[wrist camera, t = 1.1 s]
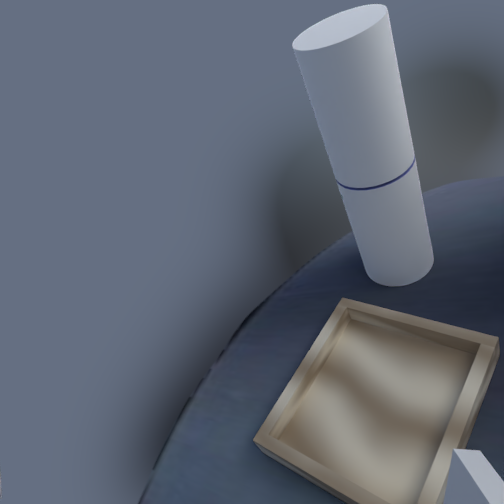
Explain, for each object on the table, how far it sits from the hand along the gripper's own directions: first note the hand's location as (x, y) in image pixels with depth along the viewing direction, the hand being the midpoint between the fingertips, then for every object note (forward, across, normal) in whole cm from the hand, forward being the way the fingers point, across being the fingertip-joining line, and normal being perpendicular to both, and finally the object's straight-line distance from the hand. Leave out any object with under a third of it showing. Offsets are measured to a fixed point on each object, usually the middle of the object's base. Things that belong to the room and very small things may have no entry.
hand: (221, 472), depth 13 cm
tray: (+22, +12, -10) cm, 27 cm away
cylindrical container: (+35, +16, -1) cm, 39 cm away
